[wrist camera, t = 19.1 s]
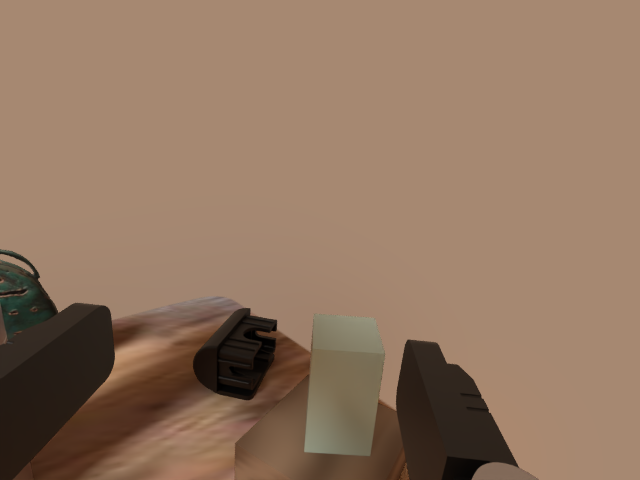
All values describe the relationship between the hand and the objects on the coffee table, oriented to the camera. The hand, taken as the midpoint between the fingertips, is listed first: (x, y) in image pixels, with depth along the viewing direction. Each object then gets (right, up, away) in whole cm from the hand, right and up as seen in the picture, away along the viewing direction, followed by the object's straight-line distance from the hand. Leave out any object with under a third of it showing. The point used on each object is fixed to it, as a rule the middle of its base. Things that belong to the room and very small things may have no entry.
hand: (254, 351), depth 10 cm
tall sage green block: (+3, -14, +24) cm, 28 cm away
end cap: (-9, -14, +37) cm, 41 cm away
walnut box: (+2, -19, +25) cm, 31 cm away
